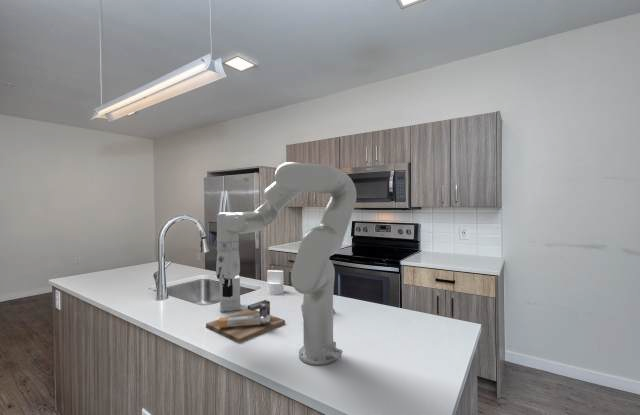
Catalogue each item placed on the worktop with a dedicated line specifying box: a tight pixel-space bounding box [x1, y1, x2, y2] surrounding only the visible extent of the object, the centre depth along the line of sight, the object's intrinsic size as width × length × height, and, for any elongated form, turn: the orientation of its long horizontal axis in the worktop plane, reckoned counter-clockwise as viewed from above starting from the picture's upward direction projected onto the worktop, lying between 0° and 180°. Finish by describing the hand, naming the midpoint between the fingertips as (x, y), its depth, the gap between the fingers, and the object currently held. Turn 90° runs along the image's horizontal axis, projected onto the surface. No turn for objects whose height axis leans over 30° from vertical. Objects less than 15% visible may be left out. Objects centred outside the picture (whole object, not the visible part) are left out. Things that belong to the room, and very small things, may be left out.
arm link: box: [218, 303, 271, 328], centre depth 117 cm, size 19×4×8 cm, turn 100°
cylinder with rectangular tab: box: [266, 269, 285, 296], centre depth 166 cm, size 9×9×12 cm
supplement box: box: [219, 274, 241, 313], centre depth 142 cm, size 9×9×15 cm
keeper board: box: [205, 299, 286, 344], centre depth 121 cm, size 22×22×8 cm
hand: (227, 296), depth 110 cm, fingers closed
